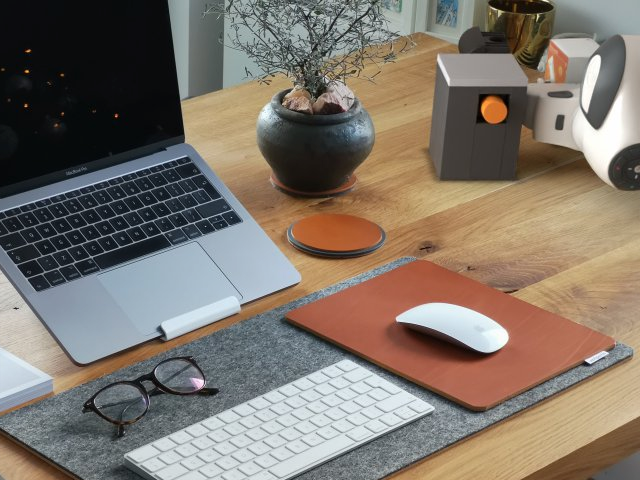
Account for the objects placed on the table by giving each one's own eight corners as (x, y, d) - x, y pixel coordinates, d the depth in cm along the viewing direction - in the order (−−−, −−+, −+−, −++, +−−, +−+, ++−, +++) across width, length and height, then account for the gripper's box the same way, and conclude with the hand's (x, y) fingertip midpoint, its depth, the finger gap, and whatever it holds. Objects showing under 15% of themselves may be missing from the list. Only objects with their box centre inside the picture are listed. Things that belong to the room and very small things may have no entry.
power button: (501, 116, 144) (504, 94, 143) (505, 123, 142) (508, 101, 141) (478, 116, 144) (481, 94, 143) (482, 123, 142) (484, 101, 141)
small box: (536, 124, 165) (549, 38, 158) (578, 123, 165) (592, 37, 158) (554, 145, 158) (568, 56, 151) (597, 144, 158) (613, 55, 151)
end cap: (455, 65, 187) (459, 25, 184) (498, 66, 187) (503, 26, 183) (461, 85, 179) (466, 44, 175) (506, 86, 178) (511, 45, 175)
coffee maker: (499, 150, 156) (512, 53, 149) (514, 180, 148) (528, 79, 140) (428, 150, 156) (437, 53, 149) (439, 180, 148) (449, 79, 140)
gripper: (686, 96, 144) (652, 61, 156) (528, 96, 144) (507, 61, 156) (676, 141, 147) (644, 104, 159) (522, 141, 148) (501, 104, 159)
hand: (575, 82), depth 158 cm, fingers open, 8 cm apart
